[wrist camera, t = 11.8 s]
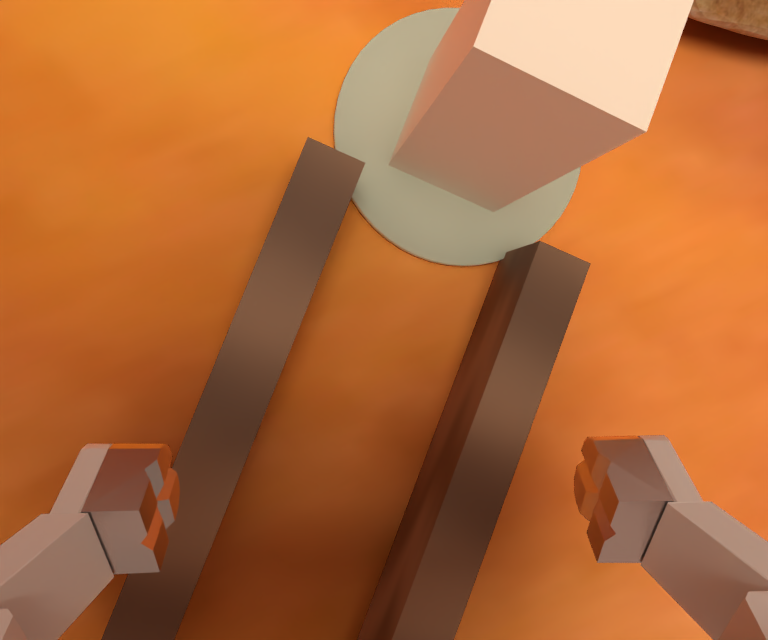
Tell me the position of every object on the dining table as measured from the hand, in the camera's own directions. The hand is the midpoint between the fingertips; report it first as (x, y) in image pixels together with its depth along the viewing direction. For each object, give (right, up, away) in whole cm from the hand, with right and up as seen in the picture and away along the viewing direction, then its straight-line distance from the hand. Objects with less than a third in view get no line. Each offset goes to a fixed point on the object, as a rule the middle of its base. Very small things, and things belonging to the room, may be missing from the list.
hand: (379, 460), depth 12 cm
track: (-1, -2, +11) cm, 11 cm away
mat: (+3, +10, +12) cm, 16 cm away
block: (+3, +10, +12) cm, 16 cm away
